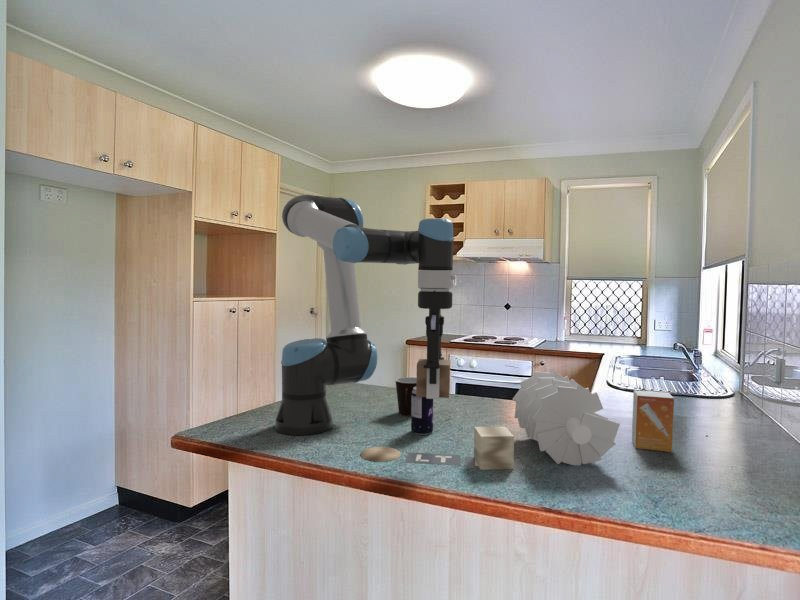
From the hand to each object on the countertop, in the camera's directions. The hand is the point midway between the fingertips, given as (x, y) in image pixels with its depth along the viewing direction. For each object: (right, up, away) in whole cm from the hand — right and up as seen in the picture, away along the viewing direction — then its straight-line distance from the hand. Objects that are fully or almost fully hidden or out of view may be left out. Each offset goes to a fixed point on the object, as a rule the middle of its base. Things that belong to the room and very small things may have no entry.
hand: (433, 394), depth 111 cm
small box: (+54, -15, +11) cm, 57 cm away
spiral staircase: (+30, -15, +7) cm, 34 cm away
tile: (0, -15, +1) cm, 15 cm away
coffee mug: (-5, -13, +38) cm, 41 cm away
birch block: (+13, -15, -2) cm, 19 cm away
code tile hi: (+13, -15, -2) cm, 20 cm away
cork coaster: (-12, -15, +3) cm, 19 cm away
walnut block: (0, 0, 0) cm, 0 cm away
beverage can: (-2, -14, +20) cm, 25 cm away
